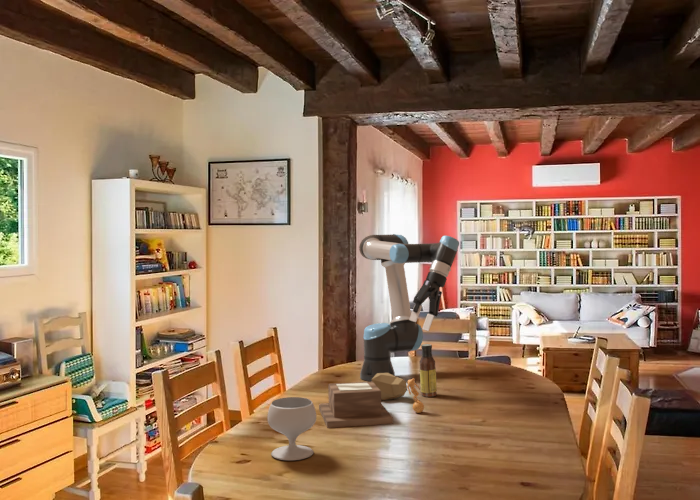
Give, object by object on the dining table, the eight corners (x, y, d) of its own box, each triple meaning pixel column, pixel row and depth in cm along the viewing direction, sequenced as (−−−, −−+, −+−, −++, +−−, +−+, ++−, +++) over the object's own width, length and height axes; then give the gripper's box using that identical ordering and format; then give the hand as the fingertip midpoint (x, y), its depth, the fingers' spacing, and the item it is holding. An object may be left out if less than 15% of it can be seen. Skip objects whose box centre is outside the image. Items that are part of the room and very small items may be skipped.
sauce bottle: (436, 393, 243) (436, 343, 242) (437, 397, 237) (436, 346, 236) (419, 393, 243) (419, 343, 243) (419, 397, 237) (419, 346, 237)
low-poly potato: (363, 398, 237) (370, 391, 227) (368, 372, 242) (375, 363, 232) (400, 408, 239) (409, 401, 229) (404, 381, 244) (413, 373, 234)
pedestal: (319, 409, 223) (318, 380, 222) (378, 405, 226) (378, 377, 226) (327, 427, 201) (326, 396, 201) (392, 423, 205) (392, 392, 204)
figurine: (419, 416, 212) (418, 381, 212) (403, 414, 215) (402, 380, 215) (428, 410, 220) (427, 376, 219) (412, 408, 223) (412, 375, 222)
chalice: (292, 442, 187) (291, 393, 187) (326, 452, 178) (326, 401, 178) (257, 455, 176) (256, 403, 176) (292, 467, 167) (291, 412, 167)
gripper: (435, 265, 226) (416, 319, 222) (456, 286, 247) (438, 336, 243) (418, 261, 230) (398, 314, 226) (439, 282, 251) (421, 331, 247)
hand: (419, 325), depth 234 cm, fingers open, 13 cm apart
